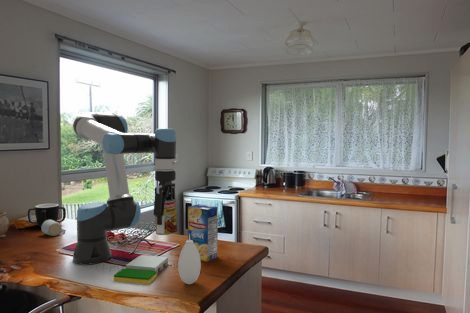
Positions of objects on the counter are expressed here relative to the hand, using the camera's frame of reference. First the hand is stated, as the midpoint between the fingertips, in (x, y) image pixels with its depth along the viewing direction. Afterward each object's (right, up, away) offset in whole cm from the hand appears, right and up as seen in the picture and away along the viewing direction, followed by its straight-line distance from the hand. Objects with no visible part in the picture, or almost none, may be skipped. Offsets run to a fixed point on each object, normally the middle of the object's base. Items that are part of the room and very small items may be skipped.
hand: (165, 230), depth 133 cm
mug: (-83, -13, +72) cm, 110 cm away
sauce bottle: (+10, -18, -8) cm, 22 cm away
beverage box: (+12, -16, +20) cm, 29 cm away
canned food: (+1, -1, 0) cm, 1 cm away
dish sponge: (-10, -18, -3) cm, 21 cm away
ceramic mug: (-70, -14, +54) cm, 89 cm away
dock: (-8, -17, +6) cm, 20 cm away
